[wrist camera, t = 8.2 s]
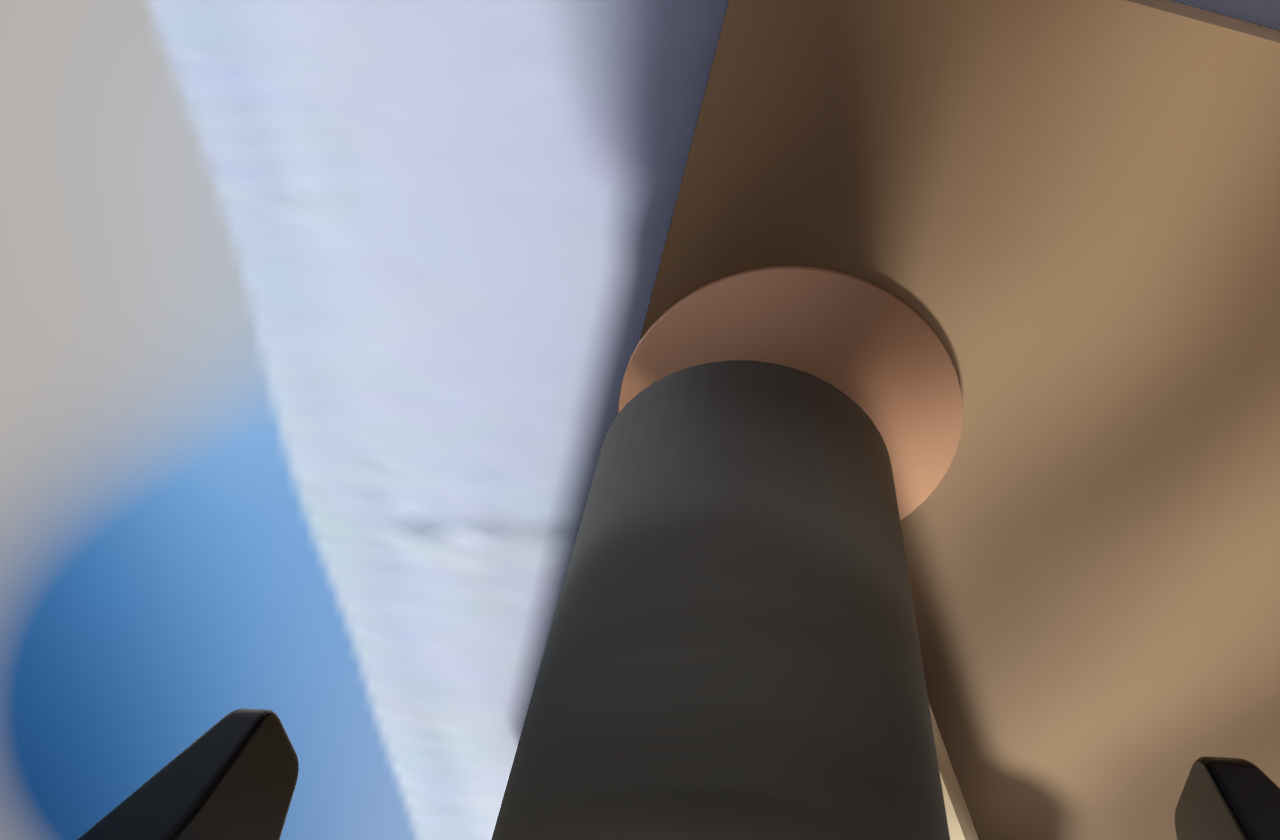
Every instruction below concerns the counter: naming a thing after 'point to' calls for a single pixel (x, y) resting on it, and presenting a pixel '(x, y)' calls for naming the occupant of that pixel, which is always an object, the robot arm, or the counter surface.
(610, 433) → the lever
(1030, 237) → the board
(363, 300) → the counter surface
